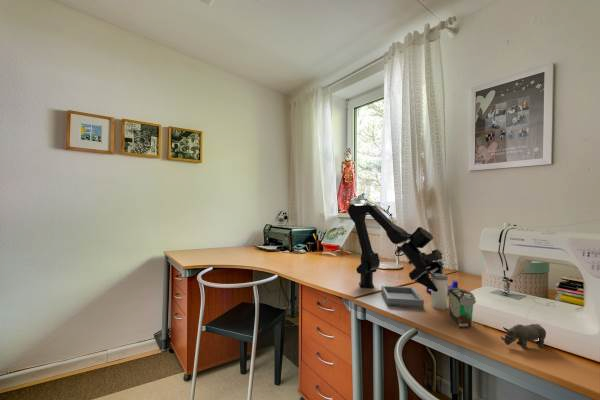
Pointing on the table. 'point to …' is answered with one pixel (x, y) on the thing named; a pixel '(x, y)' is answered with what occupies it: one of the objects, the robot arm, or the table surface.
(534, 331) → the rhino figurine
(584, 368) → the table surface
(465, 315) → the food container
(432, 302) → the grey round glossy part
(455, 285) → the cable clip
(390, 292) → the charcoal tray
